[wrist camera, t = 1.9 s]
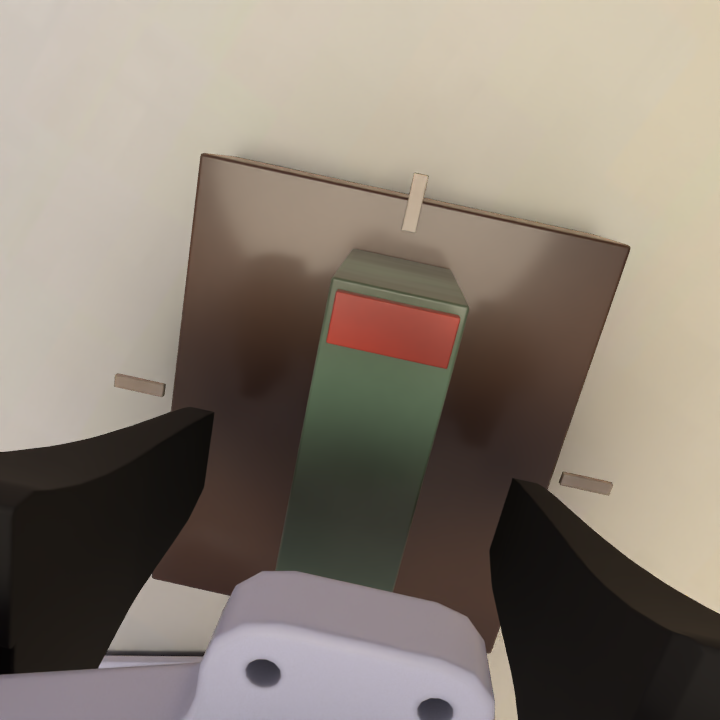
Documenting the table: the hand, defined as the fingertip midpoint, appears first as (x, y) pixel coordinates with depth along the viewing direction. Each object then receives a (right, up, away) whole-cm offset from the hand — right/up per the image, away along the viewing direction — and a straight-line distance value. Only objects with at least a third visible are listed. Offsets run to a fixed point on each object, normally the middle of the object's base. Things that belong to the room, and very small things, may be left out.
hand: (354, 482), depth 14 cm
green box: (0, +1, +3) cm, 3 cm away
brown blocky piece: (0, +2, +6) cm, 6 cm away
